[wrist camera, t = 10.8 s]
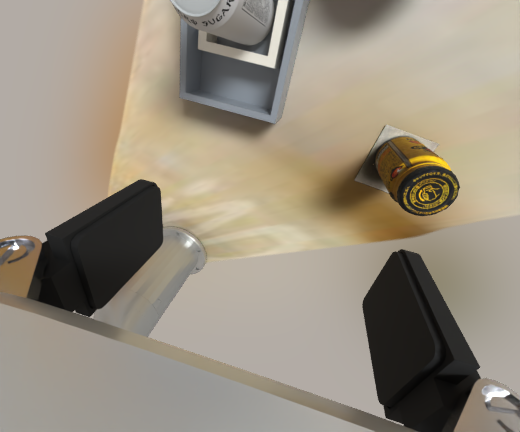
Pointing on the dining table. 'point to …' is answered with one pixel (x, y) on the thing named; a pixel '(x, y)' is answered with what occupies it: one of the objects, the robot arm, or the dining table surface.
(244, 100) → the walled box
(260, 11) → the energy drink can
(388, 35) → the dining table surface
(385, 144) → the condiment
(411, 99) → the dining table surface
